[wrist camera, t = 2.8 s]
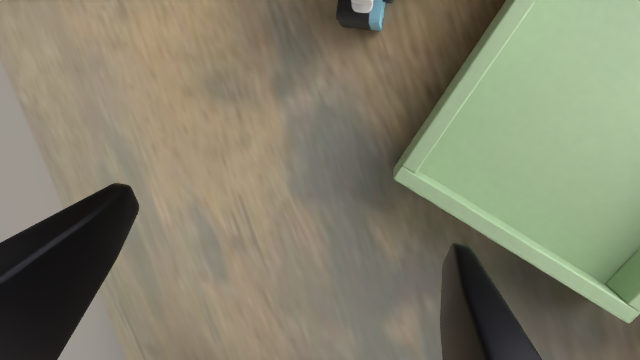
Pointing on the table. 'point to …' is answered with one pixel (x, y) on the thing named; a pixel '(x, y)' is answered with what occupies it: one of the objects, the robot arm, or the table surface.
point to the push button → (361, 13)
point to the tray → (546, 144)
